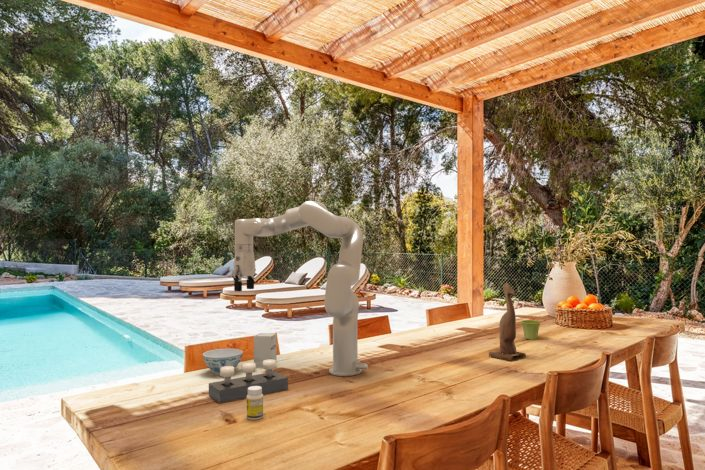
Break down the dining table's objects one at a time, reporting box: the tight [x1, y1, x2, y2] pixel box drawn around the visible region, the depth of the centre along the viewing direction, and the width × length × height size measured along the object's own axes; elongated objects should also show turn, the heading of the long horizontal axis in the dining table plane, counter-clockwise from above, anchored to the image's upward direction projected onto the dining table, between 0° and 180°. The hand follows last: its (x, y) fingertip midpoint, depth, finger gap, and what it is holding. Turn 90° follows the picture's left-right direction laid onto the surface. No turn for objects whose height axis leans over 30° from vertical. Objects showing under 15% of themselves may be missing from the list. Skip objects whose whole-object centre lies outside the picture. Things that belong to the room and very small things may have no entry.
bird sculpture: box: [488, 282, 527, 362], centre depth 208 cm, size 11×12×32 cm
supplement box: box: [253, 332, 277, 368], centre depth 199 cm, size 7×7×13 cm
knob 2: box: [262, 359, 277, 378], centre depth 167 cm, size 4×4×6 cm
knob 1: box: [219, 366, 235, 386], centre depth 158 cm, size 4×4×6 cm
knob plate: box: [208, 370, 289, 404], centre depth 163 cm, size 24×10×4 cm, turn 125°
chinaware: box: [202, 348, 244, 376], centre depth 188 cm, size 15×15×8 cm
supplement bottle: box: [246, 386, 264, 421], centre depth 140 cm, size 5×5×8 cm
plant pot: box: [520, 319, 541, 341], centre depth 247 cm, size 9×9×9 cm
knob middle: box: [241, 362, 257, 382], centre depth 163 cm, size 4×4×6 cm
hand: (244, 290), depth 201 cm, fingers open, 9 cm apart
